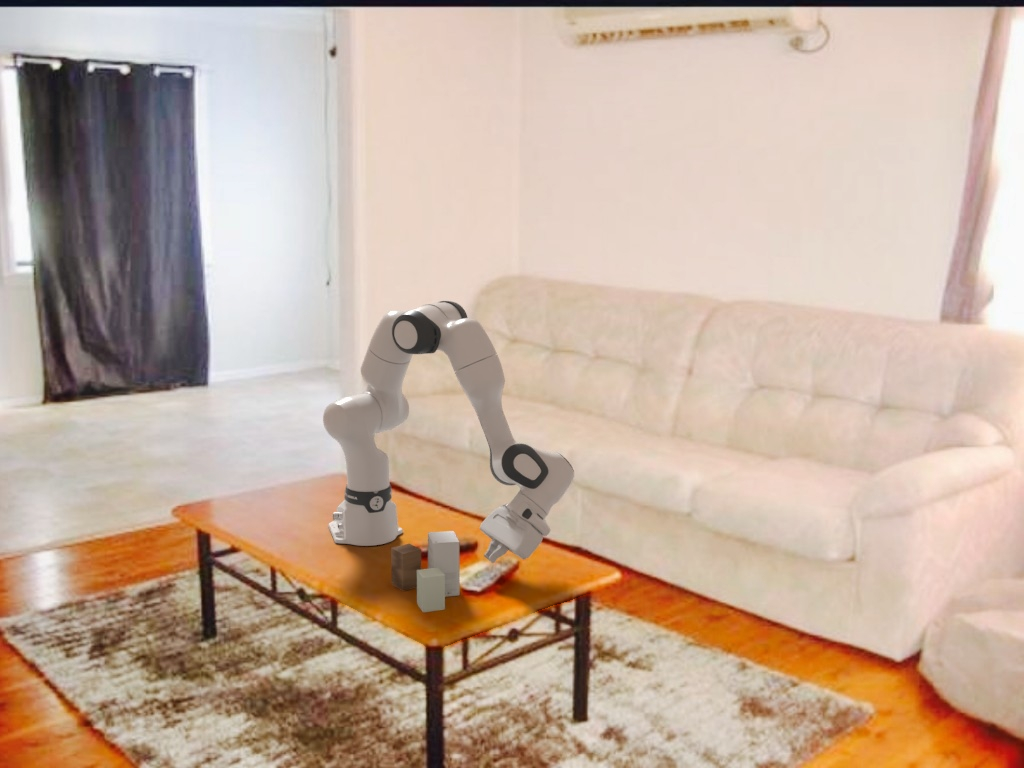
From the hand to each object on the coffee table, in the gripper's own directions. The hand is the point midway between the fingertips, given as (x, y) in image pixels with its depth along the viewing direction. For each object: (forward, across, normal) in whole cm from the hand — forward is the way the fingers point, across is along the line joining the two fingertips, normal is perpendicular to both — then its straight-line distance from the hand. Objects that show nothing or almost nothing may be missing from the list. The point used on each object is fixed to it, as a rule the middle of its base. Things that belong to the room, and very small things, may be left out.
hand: (488, 559), depth 243 cm
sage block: (+17, +7, -8) cm, 20 cm away
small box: (+12, 0, -4) cm, 13 cm away
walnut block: (+17, -7, -9) cm, 20 cm away
